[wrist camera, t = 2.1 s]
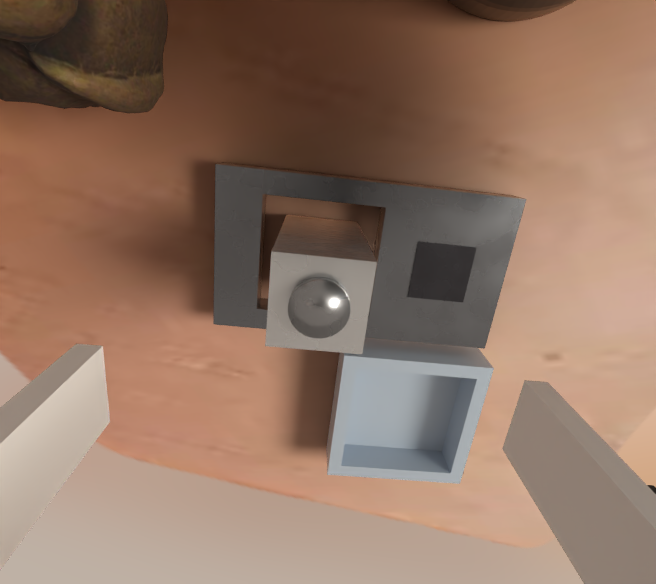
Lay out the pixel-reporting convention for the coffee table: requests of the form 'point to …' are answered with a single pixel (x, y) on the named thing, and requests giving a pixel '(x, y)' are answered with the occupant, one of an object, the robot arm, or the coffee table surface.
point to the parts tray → (406, 410)
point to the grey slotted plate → (377, 251)
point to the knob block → (320, 286)
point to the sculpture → (83, 53)
